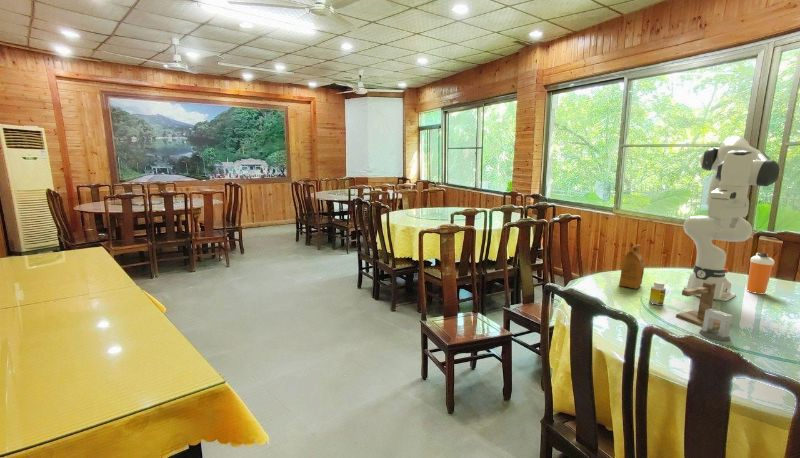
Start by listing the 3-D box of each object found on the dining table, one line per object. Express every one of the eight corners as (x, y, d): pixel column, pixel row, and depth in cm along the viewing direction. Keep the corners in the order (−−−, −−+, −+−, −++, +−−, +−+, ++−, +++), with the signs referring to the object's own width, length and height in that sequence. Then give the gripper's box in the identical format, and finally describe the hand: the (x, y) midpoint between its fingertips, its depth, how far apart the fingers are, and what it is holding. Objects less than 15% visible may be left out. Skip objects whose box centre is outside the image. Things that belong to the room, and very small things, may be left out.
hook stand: (693, 312, 168) (699, 276, 165) (730, 325, 156) (738, 286, 153) (661, 319, 160) (667, 281, 157) (698, 334, 147) (705, 293, 144)
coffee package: (645, 286, 204) (651, 245, 200) (637, 291, 195) (643, 248, 191) (624, 281, 211) (629, 241, 207) (615, 285, 203) (621, 245, 199)
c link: (707, 329, 150) (711, 308, 149) (728, 337, 144) (732, 315, 142) (701, 331, 149) (705, 309, 147) (722, 339, 142) (727, 316, 141)
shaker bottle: (748, 293, 197) (756, 255, 193) (741, 288, 205) (748, 251, 201) (771, 296, 193) (779, 257, 190) (762, 290, 201) (770, 253, 198)
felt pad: (708, 329, 152) (708, 327, 152) (735, 339, 144) (735, 337, 144) (694, 332, 149) (694, 331, 149) (720, 343, 141) (721, 341, 140)
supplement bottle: (659, 307, 174) (663, 285, 172) (646, 303, 179) (649, 281, 177) (665, 304, 177) (669, 283, 176) (652, 300, 182) (655, 280, 180)
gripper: (737, 192, 155) (731, 226, 158) (707, 193, 147) (700, 228, 150) (757, 194, 150) (750, 229, 152) (726, 194, 141) (719, 231, 144)
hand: (725, 229), depth 151 cm, fingers open, 8 cm apart
